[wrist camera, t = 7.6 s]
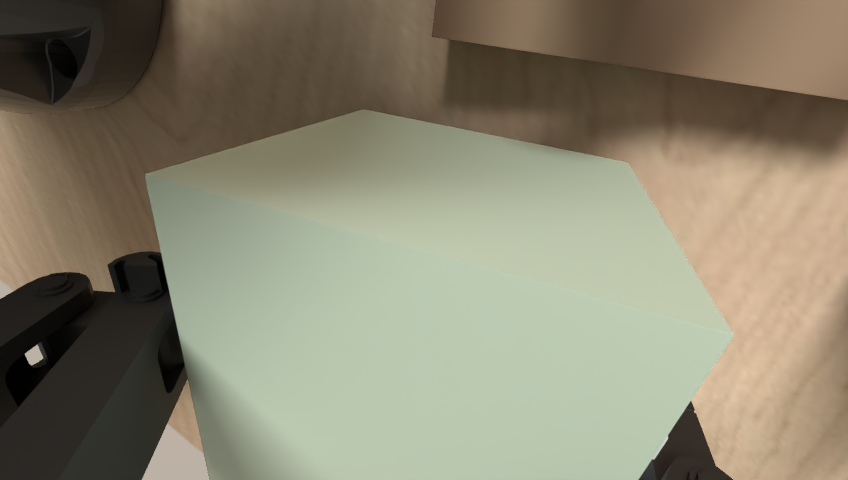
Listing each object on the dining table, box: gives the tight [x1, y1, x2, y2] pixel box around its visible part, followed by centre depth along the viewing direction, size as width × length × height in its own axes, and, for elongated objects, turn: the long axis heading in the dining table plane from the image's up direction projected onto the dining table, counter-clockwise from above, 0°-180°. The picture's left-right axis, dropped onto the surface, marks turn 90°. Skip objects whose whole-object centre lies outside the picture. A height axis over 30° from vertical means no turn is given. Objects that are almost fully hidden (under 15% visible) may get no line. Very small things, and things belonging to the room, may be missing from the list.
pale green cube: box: [144, 109, 734, 480], centre depth 11 cm, size 9×9×9 cm
